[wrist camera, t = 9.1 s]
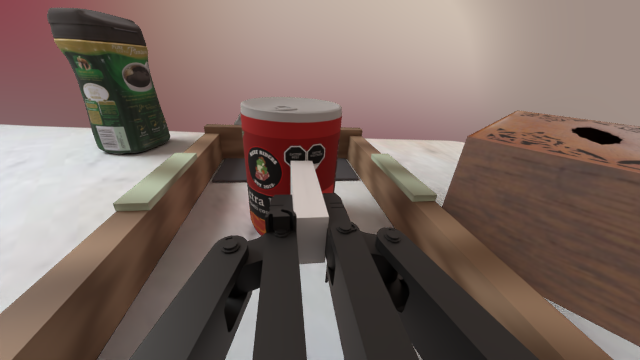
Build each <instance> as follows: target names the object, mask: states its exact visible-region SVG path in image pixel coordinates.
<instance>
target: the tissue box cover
mask: <svg viewBox="0 0 640 360" xmlns="http://www.w3.org/2000/svg"><path fill="white" fill-rule="evenodd" d="M442 208H443V209H444V210H445V211H446V212H448V213H449V214H450V215H451V216H452V217H453V218H454V219H455V220H457V221H458V222H459V223H460V224H461V225H462V226H463V227H464V228H466V229H467V230H468V231H469V232H470V233H471V234H472V235H473V236H475V237H476V238H477V239H478V240H479V241H480V242H481V243H482V244H484V245H485V246H486V247H487V248H488V249H489V250H490V251H491V252H493V253H494V254H495V255H496V256H497V257H498V258H499V259H500V260H502V261H503V262H504V263H505V264H506V265H507V266H508V267H509V268H511V269H512V270H513V271H514V272H515V273H516V274H517V275H519V276H520V277H521V278H522V279H523V280H524V281H525V282H526V283H528V284H529V285H530V286H531V287H532V288H533V289H534V290H535V291H537V292H538V293H539V294H540V295H541V296H542V297H544V298H546V299H548V300H550V301H552V302H554V303H556V304H558V305H560V306H562V307H564V308H566V309H568V310H569V311H571V312H573V313H575V314H577V315H579V316H581V317H583V318H585V319H587V320H589V321H591V322H593V323H595V324H597V325H599V326H601V327H602V328H604V329H606V330H608V331H610V332H612V333H614V334H616V335H618V336H620V337H622V338H624V339H626V340H628V341H630V342H632V343H634V344H635V345H637V346H639V347H640V127H639V126H631V125H624V124H616V123H607V122H601V121H593V120H585V119H577V118H570V117H563V116H555V115H547V114H539V113H532V112H525V111H516V112H514V113H512V114H510V115H508V116H506V117H504V118H502V119H500V120H498V121H496V122H494V123H493V124H491V125H489V126H487V127H485V128H483V129H481V130H479V131H477V132H475V133H473V134H471V135H469V136H468V137H467V139H466V142H465V145H464V147H463V150H462V153H461V156H460V159H459V161H458V164H457V167H456V170H455V172H454V175H453V178H452V181H451V184H450V186H449V189H448V192H447V195H446V197H445V200H444V203H443V206H442Z"/></svg>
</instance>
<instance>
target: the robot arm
mask: <svg viewBox="0 0 640 360" xmlns="http://www.w3.org/2000/svg"><path fill="white" fill-rule="evenodd" d="M265 229H266V233H265V234H264V235H262V236H261V237H259V238H257V239H254V240H251V241H247V240H246V239H245V238H243V237H241V236H228V237H224V238H223V239H221V240H219V241H218V242H217V243H216V244H215V245H214V246H213V247H212V248H211V250H210V251H209V253H208V254H207V255H206V257H205V258H204V259H203V261H202V262H201V263H200V265H199V266H198V267H197V269H196V270H195V271H194V273H193V274H192V276H191V277H190V278H189V280H188V281H187V282H186V284H185V285H184V286H183V288H182V289H181V290H180V292H179V293H178V294H177V296H176V297H175V299H174V300H173V301H172V303H171V304H170V305H169V307H168V308H167V309H166V311H165V312H164V313H163V315H162V316H161V317H160V319H159V320H158V322H157V323H156V324H155V326H154V327H153V328H152V330H151V331H150V332H149V334H148V335H147V336H146V338H145V339H144V340H143V342H142V343H141V344H140V346H139V347H138V349H137V350H136V351H135V353H134V354H133V355H132V357H131V358H130V359H129V360H225V358H226V355H227V353H228V351H229V348H230V346H231V343H232V341H233V338H234V336H235V333H236V331H237V329H238V326H239V324H240V321H241V319H242V316H243V314H244V311H245V309H246V307H247V304H248V302H249V299H250V297H251V294H252V290H255V289H258V288H260V293H259V302H258V312H257V321H256V331H255V341H254V350H253V360H307V356H306V343H305V331H304V318H303V306H302V293H301V281H300V269H299V264H309V263H323V262H325V255H326V259H327V269H326V279H325V283H327V282H328V281H329V286H330V291H331V296H332V301H333V306H334V311H335V316H336V320H337V325H338V330H339V335H340V340H341V345H342V350H343V355H344V360H419V359H418V356H417V354H416V352H415V350H414V348H413V346H414V347H415V349H416V350H417V352H418V353H419V355H420V356H421V358H422V359H423V360H539V359H538V358H537V357H536V356H535V355H534V354H533V353H532V352H531V351H530V350H528V349H527V348H526V347H525V346H524V345H523V344H522V343H521V342H520V341H519V340H518V339H517V338H516V337H515V336H513V335H512V334H511V333H510V332H509V331H508V330H507V329H506V328H505V327H504V326H503V325H502V324H501V323H499V322H498V321H497V320H496V319H495V318H494V317H493V316H492V315H491V314H490V313H489V312H488V311H487V310H485V309H484V308H483V307H482V306H481V305H480V304H479V303H478V302H477V301H476V300H475V299H474V298H473V297H471V296H470V295H469V294H468V293H467V292H466V291H465V290H464V289H463V288H462V287H461V286H460V285H459V284H457V283H456V282H455V281H454V280H453V279H452V278H451V277H450V276H449V275H448V274H447V273H446V272H445V271H443V270H442V269H441V268H440V267H439V266H438V265H437V264H436V263H435V262H434V261H433V260H432V259H431V258H430V257H428V256H427V255H426V254H425V253H424V252H423V251H422V250H421V249H420V248H419V247H418V246H417V245H416V244H414V243H413V242H412V241H411V240H410V239H409V238H408V237H407V236H406V235H405V234H404V233H402V232H401V231H399V230H397V229H394V228H382V229H380V230H379V231H378V232H377V235H375V234H369V233H365V232H362V231H360V230H359V228H358V227H357V225H356V224H354V223H353V222H351V221H350V219H349V217H348V214H347V212H346V210H345V208H344V205H343V204H342V200H341V198H340V197H339V196H338V195H337V194H336V193H322V192H321V188H320V185H319V182H318V178H317V175H316V172H315V168H314V165H313V162H312V161H291V195H274V196H273V198H272V199H271V201H270V211H269V212H268V213H266V216H265Z"/></svg>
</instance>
